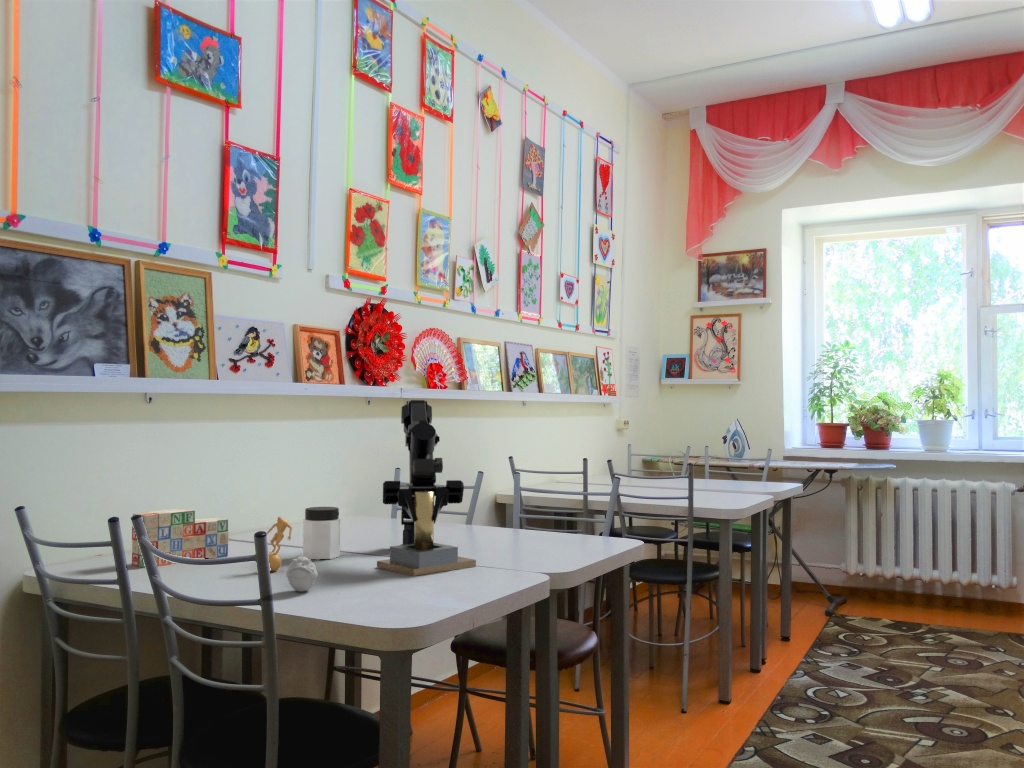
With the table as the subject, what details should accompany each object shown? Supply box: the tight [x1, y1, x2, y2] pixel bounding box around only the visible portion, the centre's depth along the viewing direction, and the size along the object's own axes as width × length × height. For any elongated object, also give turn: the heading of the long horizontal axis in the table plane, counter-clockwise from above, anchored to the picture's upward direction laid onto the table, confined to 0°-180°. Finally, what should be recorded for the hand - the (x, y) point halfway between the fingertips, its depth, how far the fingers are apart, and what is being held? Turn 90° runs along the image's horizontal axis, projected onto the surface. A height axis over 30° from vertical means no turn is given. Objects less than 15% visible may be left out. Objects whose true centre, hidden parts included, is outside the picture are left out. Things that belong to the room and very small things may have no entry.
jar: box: [302, 506, 341, 560], centre depth 207 cm, size 9×8×12 cm
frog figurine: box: [285, 556, 319, 593], centre depth 166 cm, size 6×7×7 cm
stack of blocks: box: [131, 508, 229, 569], centre depth 201 cm, size 21×6×12 cm, turn 141°
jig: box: [376, 542, 477, 577], centre depth 194 cm, size 18×14×5 cm
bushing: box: [414, 491, 435, 550], centre depth 192 cm, size 4×4×13 cm
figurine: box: [265, 516, 293, 572], centre depth 189 cm, size 8×6×12 cm
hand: (424, 520), depth 191 cm, fingers closed on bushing, 4 cm apart
